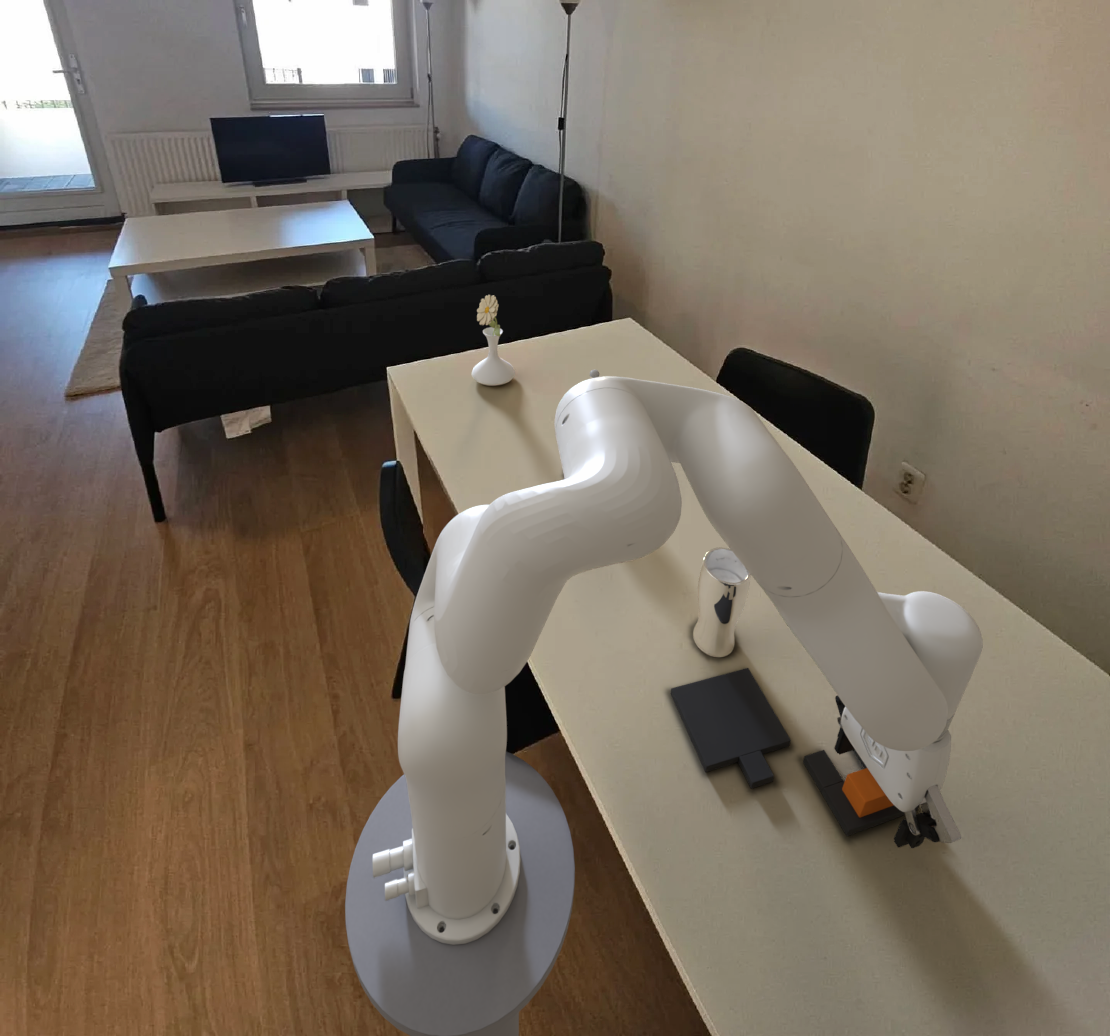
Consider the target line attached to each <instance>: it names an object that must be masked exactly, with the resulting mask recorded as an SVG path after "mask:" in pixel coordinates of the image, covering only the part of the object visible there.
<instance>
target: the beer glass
mask: <svg viewBox="0 0 1110 1036" xmlns="http://www.w3.org/2000/svg"><path fill="white" fill-rule="evenodd" d="M751 576H752V575H751V574H750V573H749V571H748V570H747V569H746V568H745V566H744V565H743V564H742V563H741V561H740V560H739V559H738V558H737V556H736V555H735V554H734V553H733V552H732V550H731V549H730V548H729V547H722V546H721V547H714V548H711V549H710V550H707V552H706V553H705V554H704V557H703V560H702V564H701V568H700V571H699V576H698V583H697V605H698V617H697V621H696V624H695V625H694V627H693V630H692V631H693V632H692V637H693V641H694V643H695V645H696V646H697V648H699V650H700V651H701V652H703V653H704V654H706V655H707V656H709V657H713V658H724V657H727V656H728V655H730V654H731V653H732V652H733V650H734V648H735V640H736V639H735V629H736V626H737V624H738V622H739V621H740V618H741V616H742V614H743V612H744V610H745V607H746V606H747V605H746V604H747V602H748V598H749V592H750V585H751Z"/></svg>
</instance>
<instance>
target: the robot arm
mask: <svg viewBox="0 0 1110 1036" xmlns="http://www.w3.org/2000/svg"><path fill="white" fill-rule="evenodd" d="M553 423H554V435H555V440H556V444H557V449H558V454H559V458H560V463H561V467H562V468H561V469H562V473H563V479H561V480H556V481H552V482H546V483H542V484H538V485H533V486H529V487H525V488H522V489H517V490H514V491H511V492H507V493H505V494H503V495H500V496H499V497H497V498H496V499H494V500H493V501H492V502H491V503H490V504H488V503H485V504H480V505H475V506H472V507H469V508H467V509H465V510H463V511H461V512H460V513H458V514H456V515H455V516H453V518H452V519H451V520H450V521H449V522H448V523H447V524H446V525H445V526H444V527H443V529H442V530H441V531H440V534H439V536H438V537H437V539H436V542H435V544H434V547H433V548H432V552H431V555H430V558H429V560H428V563H427V566H426V569H425V572H424V574H423V577H422V580H421V583H420V585H419V589H418V592H417V594H416V597H415V600H414V603H413V608H412V611H411V615H410V620H409V627H408V636H407V645H406V654H405V655H406V656H405V663H404V664H405V665H404V671H403V678H402V686H401V687H402V688H401V695H400V707H399V716H398V728H397V757H398V762H399V766H400V768H401V771H402V772H403V775H404V774H405V777H406V781H407V787H408V795H409V803H410V808H411V817H412V825H413V828H412V839H409V840H406V841H403V846H401V847H397V848H394V849H391V850H390V849H388V850H385V851H381V852H378V853H375V854H373V877H374V878H375V877H378V876H381V875H385V874H388V873H391V871H394V870H397V869H400V868H403V867H404V878H401V879H398V880H397V879H395V880H392V881H389V882H386V883H385V900H386V901H387V900H390V899H393V898H396V897H398V896H399V895H402V894H405V897H406V901H407V905H408V908H409V910H410V913H411V915H412V917H413V919H414V921H415V922H416V923H417V925H418V926H419V927H420V929H421V930H422V931H423V932H424V933H426V934H427V935H428V936H429V937H430V938H432V939H434V940H437V941H439V942H441V943H446V944H452V945H456V944H466V943H468V942H471V941H474V940H477V939H479V938H480V937H482V936H483V935H485V934H486V933H488V932H489V931H490V930H491V929H492V928H493V927H494V926H495V925H497V924H498V923H499V921H500V920H501V918H502V917H503V916H504V914H505V913H506V912H507V910H508V908H509V906H510V904H511V902H512V900H513V898H514V895H515V892H516V888H517V885H518V880H519V874H520V846H519V842H518V837H517V833H516V831H515V828H514V826H513V824H512V822H511V820H510V819H509V817H508V816H507V814H506V779H505V752H507V746H508V745H507V744H508V743H507V742H508V726H507V725H508V721H507V703H506V686H507V685H509V684H510V683H511V682H512V681H513V680H514V679H515V678H516V677H517V676H518V675H519V674H520V673H521V671H522V670H523V668H524V667H525V666H526V665H527V662H528V661H529V659H530V657H531V656H532V653H533V650H534V649H535V647H536V644H537V643H538V641H539V639H540V636H541V634H542V632H543V629H544V628H545V625H546V624H547V621H548V618H549V616H550V614H551V612H552V610H553V607H554V606H555V603H556V601H557V599H558V598H559V595H560V594H561V592H562V591H563V588H564V587H565V586H566V584H567V582H568V581H569V580H570V579H571V578H573V577H575V576H577V575H580V574H582V573H586V572H589V571H592V570H595V569H599V568H604V567H609V566H613V565H618V564H623V563H628V562H631V561H632V562H633V561H636V560H639V559H642V558H645V557H646V556H648V555H650V554H652V553H654V552H655V551H657V550H659V549H660V548H661V547H662V546H663V545H664V544H666V542H667V541H668V540H670V538H671V536H672V535H673V534H674V533H675V532H676V529H677V527H678V525H679V522H680V519H681V516H682V506H683V505H682V504H683V500H682V493H681V487H680V482H679V480H678V477H677V473H676V470H675V468H674V467H673V464H674V463H675V464H676V463H677V464H680V466H681V468H682V471H683V473H684V475H685V476H686V480H687V481H688V483H689V485H690V487H691V489H692V492H693V493H694V496H695V497H696V499H697V502H698V503H699V506H700V508H701V509H702V511H703V513H704V515H705V517H706V518H707V520H708V522H709V523H710V525H711V526H712V528H714V530H715V531H716V533H717V535H718V536H720V538H721V539H722V541H723V542H724V543H725V544H726V545H727V548H729V549H731V550H732V552H733V553H734V554H735V555H736V556H737V558H738V559H739V560H740V561H741V563H742V564H743V565H744V566H745V568H746V569H747V570H748V571H749V573H750V574H751V575H750V576H751V577H752V578H753V579H754V580H755V582H756V583H757V584H758V586H759V587H760V588H761V589H762V591H763V592H764V593H765V595H766V596H767V597H768V599H769V600H770V601H771V603H772V604H773V605H774V607H775V609H776V611H777V612H778V614H779V615H780V617H781V618H782V620H783V622H784V623H785V624H786V626H787V627H788V628H789V630H790V631H791V633H792V635H793V636H794V637H795V638H796V639H797V640H798V642H799V644H800V645H801V646H802V648H803V649H804V650H805V651H806V653H807V654H808V656H809V657H810V658H811V659H812V661H813V662H814V664H815V665H816V667H818V670H819V671H820V672H821V674H822V675H823V676H824V678H825V679H826V681H827V683H828V684H829V685H830V686H831V688H832V689H833V691H834V693H836V694H835V695H836V696H835V697H834V699H835V704H836V706H837V707H836V708H837V710H838V713H839V716H837V717H836V720H837V724H838V725H839V729H838V732H837V737H836V741H835V745H834V748H833V749H834V751H835V753H836V754H838V755H843V754H847V753H849V752H852V751H853V750H856V752H857V753H858V755H859V756H860V758H861V759H862V761H863V762H864V764H865V765H866V767H867V768H868V770H869V771H870V773H871V774H872V776H873V777H874V778H875V780H876V781H877V783H878V784H879V786H880V787H881V789H882V790H883V792H884V793H885V794H886V796H887V797H888V799H889V800H890V801H891V802H892V803H893V805H895V806H896V807H897V808H898V809H899V810H900V811H902V812H904V813H905V815H904V816H905V818H904V819H902V820H901V821H900V823H899V826H898V827H897V831H896V832H895V834H894V837H893V842H894V844H895V846H896V848H902V847H904V846H907V845H908V846H909V847H910V849H915V848H917V847H919V846H921V845H923V842H924V841H925V838H926V839H927V840H929V841H931V842H932V843H934V844H936V843H943V844H952V843H954V842H957V841H960V840H961V839H962V835H961V833H960V831H959V829H958V826H957V825H956V822H955V820H954V818H953V817H952V814H951V812H950V810H949V808H948V806H947V804H946V802H945V800H944V798H943V796H942V794H941V791H942V788H943V785H944V784H945V779H946V776H947V774H948V773H947V772H948V769H949V765H950V758H951V752H952V734H951V732H950V731H949V728H950V726H951V724H952V721H953V720H954V717H955V715H956V713H957V711H958V708H959V705H960V703H961V701H962V698H963V697H964V694H965V692H966V690H967V687H968V686H969V683H970V681H971V678H972V675H973V674H974V671H975V669H976V666H977V664H978V662H979V659H980V658H981V654H982V651H983V647H984V646H983V645H984V644H983V643H984V641H983V640H984V639H983V636H982V635H983V634H982V630H981V629H980V627H979V625H978V623H977V622H976V620H975V619H974V617H973V616H972V615H971V614H970V613H969V612H968V611H967V610H966V609H965V608H964V607H963V606H961V605H960V604H959V603H957V602H956V601H954V600H953V599H951V598H948V597H946V596H944V595H943V594H942V595H941V594H939V593H936V592H933V591H926V590H918V591H913V592H912V591H911V592H909V593H908V594H905V595H901V594H895V593H894V594H893V593H885V592H879V591H877V590H876V587H875V586H874V584H873V583H872V581H871V579H870V577H869V576H868V575H867V572H866V571H865V569H864V568H863V566H862V564H861V563H860V562H859V560H858V559H857V557H856V555H855V554H854V552H853V551H852V549H851V548H850V546H849V544H848V543H847V541H846V540H845V539H844V537H843V536H842V534H841V533H840V531H839V530H838V528H837V527H836V525H835V524H834V522H833V521H832V519H831V517H830V516H829V515H828V513H827V511H826V510H825V509H824V507H823V505H822V504H821V502H820V501H819V499H818V498H817V496H816V495H815V493H814V492H813V490H812V489H811V487H810V486H809V484H808V483H807V481H806V479H805V478H804V476H803V475H802V474H801V472H800V470H799V469H798V467H797V466H796V464H795V463H794V462H793V461H792V459H791V458H790V457H789V455H788V454H787V453H786V452H785V450H784V449H783V447H782V445H780V444H779V442H778V440H776V438H775V436H773V434H772V433H771V432H770V430H769V429H768V428H767V426H766V425H765V423H764V421H762V419H761V418H760V417H759V415H758V414H757V413H756V412H755V411H754V410H753V408H752V407H750V406H749V405H748V404H746V403H745V402H743V401H742V400H740V399H738V398H736V397H733V396H731V395H728V394H723V393H720V392H718V391H711V390H708V389H703V388H698V387H692V386H686V385H681V384H679V385H678V384H673V383H666V382H659V381H653V380H646V379H638V378H634V377H633V378H632V377H626V376H615V375H612V376H611V375H605V376H604V375H603V376H599V377H596V378H592V377H590V378H588V379H585V380H581V381H580V382H578V383H576V384H575V385H573V386H572V387H570V388H569V389H568V390H567V391H566V392H565V393H564V395H563V396H562V397H561V399H560V400H559V402H558V405H557V407H556V410H555V416H554V422H553ZM672 463H673V464H672ZM918 805H920V808H921V812H920V813H917V811H915V808H916V807H917V806H918ZM511 847H513V848H514V850H510V848H511ZM494 910H497V911H498V913H497V914H493V911H494ZM442 928H443V929H444V932H442V933H440V929H442Z"/></svg>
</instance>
